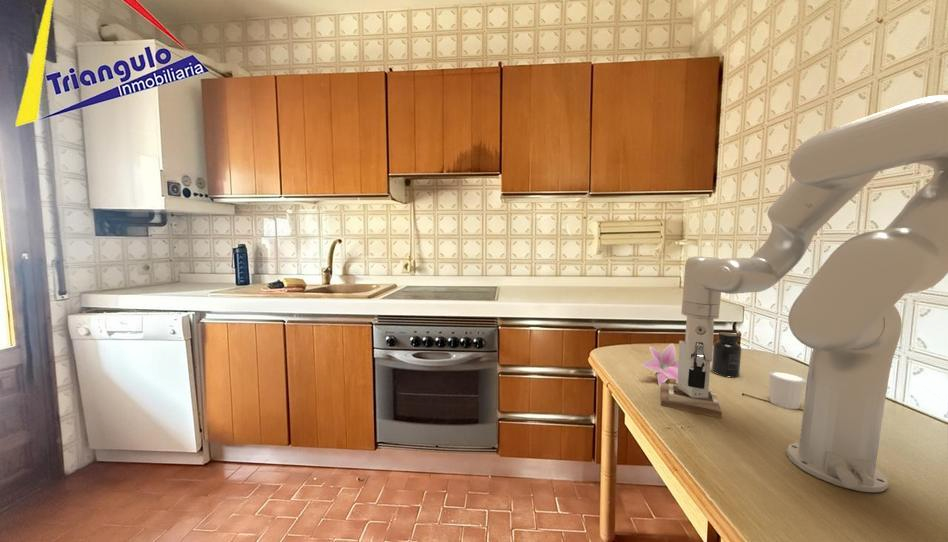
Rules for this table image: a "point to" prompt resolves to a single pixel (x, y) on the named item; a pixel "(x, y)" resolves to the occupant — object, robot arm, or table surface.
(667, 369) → the lily
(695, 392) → the skincare box
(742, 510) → the table surface
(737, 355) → the supplement bottle
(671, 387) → the square wooden tray
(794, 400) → the white cylinder
